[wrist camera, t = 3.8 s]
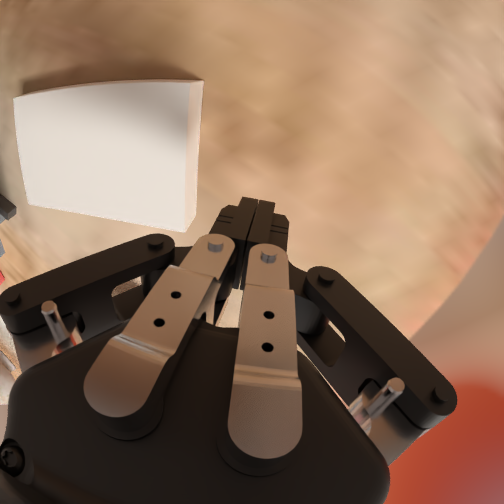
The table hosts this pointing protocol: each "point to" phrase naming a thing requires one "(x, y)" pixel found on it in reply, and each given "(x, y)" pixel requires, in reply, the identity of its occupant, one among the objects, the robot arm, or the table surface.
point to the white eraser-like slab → (113, 149)
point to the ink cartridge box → (1, 278)
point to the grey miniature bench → (5, 215)
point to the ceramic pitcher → (5, 378)
